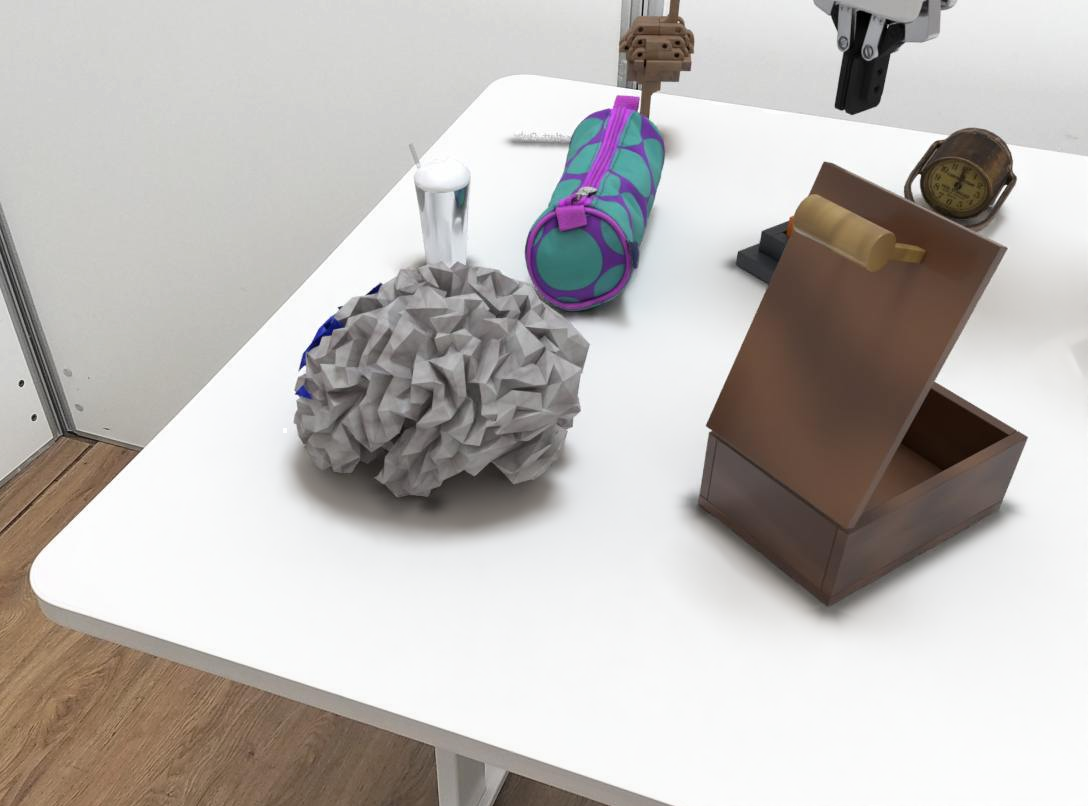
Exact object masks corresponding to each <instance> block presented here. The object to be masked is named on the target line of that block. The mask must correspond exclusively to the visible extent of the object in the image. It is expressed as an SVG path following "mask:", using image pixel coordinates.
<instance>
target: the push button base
mask: <svg viewBox="0 0 1088 806" xmlns="http://www.w3.org/2000/svg"><path fill="white" fill-rule="evenodd" d="M788 224H789V220H787V221H784V222H782V223H779V224H776V225H773V226H771V227H768V228H765V229H763V230H761V232H760V238H759V242H758V243H756V244H754V245H751V246H748V247H746V248H743V249H740V250H738V251H737V254H736V260H735V261H736V262H735V264H736V266H738V267H740V268H742V269H743V270H745V271H747V272H748V273H750V274H752V275H753V276H755V277H757V278H759V279H760V280H762V281H764V282H765V283H767V284H769V283H770V280H771V278H772V276H773V274H774V271H775V269H776V267H777V265H778V262H779V260H780V258H781V256H782V254H783V251H784V249H785V247H786V245H787V242H788V240H789V238H790V237H789V236H787V229H788Z"/></svg>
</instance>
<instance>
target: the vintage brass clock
mask: <svg viewBox="0 0 1088 806" xmlns="http://www.w3.org/2000/svg"><path fill="white" fill-rule="evenodd" d="M1013 167H1014V160H1013V154H1012V151H1011V150H1010V147H1009V146H1008V145H1007V143H1006V141H1005V140H1004V139H1003V138H1001V137H1000V136H999V135H997V134H996V133H995V132H993V131H990V130H988V129H985V128H979V127H964V128H961V129H958V130H956V131H954V132H952V133H951V134H950V135H949V136H948V137H946V138H945V139H937V140H935V141H933V143H931V144H930V146H929V147H928V149H927V150H926V151H925V153H924V154H923V156H922V157H921V158H920V159H919V161H918V162H917V163H916V165H915V166H914V168H913V169H912V170H911V172H910V173H909V174H908V177H907V179H906V181H905V184H904V186H903V197H904V198H906V199H908V200H910V201H912V202H914V203H916V204H917V202H916V200H915V198H914V195H913V190H912V184H913V182H914V181H915V180H916V178H917V177H918V175H920V179H919V189H920V192H921V196H922V199H923V200H924V202H925V203H926V204H927V206H928V207H929V208H931V209H932V211H933V212H935V213H937V214H939V215H941V216H943V217H945V218H947V219H952V220H957V221H958V220H959V221H965V220H970V219H975V218H976V217H978V216H981V215H982V214H983V213H984V212H986V210H988V208H989V207H990V206H993V205H994V206H993V207H992V209H991V210H990V212H989V213H988V214H987V216H986V217H985V218H983V219H981V221H978V222H976V223H971V224H961V225H962V226H964V227H966V228H968V229H970V230H972V231H974V232H976V233H979V232H981V231H982V230H984V229H985V228H986V227H987V226H989V225H990V224H991V222H992V221H993V220H995V217H996V215H997V214H998V213H999V211H1000V209H1001V208H1002V207H1003V205H1004V203H1005V202H1006V201H1007V199H1008V197H1009V195H1010V194H1011V192H1012V191H1013V190H1014V188H1015V186H1016V184H1017V181H1018V177H1017V175H1016V174H1015V172H1014V170H1013ZM1004 187H1005V188H1004ZM1002 190H1003V191H1002Z"/></svg>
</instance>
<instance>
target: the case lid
mask: <svg viewBox="0 0 1088 806" xmlns="http://www.w3.org/2000/svg"><path fill="white" fill-rule="evenodd" d="M793 216H794V217H793V227H794V229H793V231H792V233H791V236H790V238H789V240H788V242H787V245H786V247H785V249H784V251H783V254H782V256H781V258H780V260H779V262H778V265H777V267H776V269H775V271H774V274H773V276H772V278H771V280H770V283H768V284H767V287H766V290H765V292H764V294H763V297H762V298H761V300H760V303H759V305H758V307H757V310H756V312H755V314H754V316H753V318H752V321H751V323H750V326H749V327H748V329H747V331H746V334H745V336H744V339H743V341H742V343H741V345H740V348H739V350H738V351H737V355H736V356H735V359H734V361H733V364H732V365H731V368H730V370H729V372H728V375H727V377H726V379H725V382H724V384H723V386H722V388H721V390H720V392H719V395H718V396H717V399H716V402H715V403H714V406H713V408H712V409H711V412H710V414H709V417H708V420H707V422H706V423H705V427H706V428H707V429H709V430H710V431H713V432H715V433H716V434H717V435H719V436H720V437H721V438H723V439H724V440H725V441H727V442H728V443H730V444H731V445H732V446H734V447H735V448H736V449H738V450H739V451H740V452H742V453H743V454H744V455H746V456H747V457H749V458H750V459H751V460H753V461H754V462H755V463H757V464H758V465H759V466H761V467H762V468H764V469H765V470H766V471H768V472H769V473H770V474H772V475H773V476H774V477H776V478H777V479H779V480H780V481H781V482H783V483H784V484H785V485H787V486H788V487H789V488H791V489H792V490H794V491H795V492H796V493H798V494H799V495H800V496H802V497H803V498H804V499H806V500H807V501H809V502H810V503H811V504H813V505H814V506H815V507H817V508H818V509H819V510H821V511H822V512H824V513H825V514H826V515H828V516H829V517H830V518H832V519H833V520H834V521H836V522H837V523H839V524H840V525H841V526H843V527H844V528H845V529H848V528H854V526H855V524H856V523H857V521H858V519H859V517H860V515H861V514H862V512H863V510H864V508H865V506H866V505H867V503H868V501H869V499H870V497H871V495H872V494H873V492H874V490H875V488H876V486H877V485H878V483H879V481H880V479H881V477H882V476H883V474H884V472H885V470H886V468H887V467H888V465H889V463H890V461H891V459H892V457H893V456H894V454H895V452H896V450H897V448H898V447H899V445H900V443H901V441H902V439H903V438H904V436H905V434H906V432H907V430H908V429H909V427H910V425H911V423H912V421H913V419H914V418H915V416H916V414H917V412H918V410H919V409H920V407H921V405H922V403H923V401H924V400H925V398H926V396H927V394H928V392H929V390H930V389H931V387H932V385H933V383H934V381H935V382H936V380H937V378H938V376H939V374H940V373H941V371H942V368H943V367H944V365H945V364H946V361H948V358H949V356H950V354H951V353H952V351H953V349H954V348H955V345H956V343H957V341H958V340H959V338H960V336H961V335H962V332H963V330H964V329H965V327H966V325H967V324H968V322H969V320H970V318H971V316H972V314H973V312H974V311H975V309H976V308H977V306H978V303H979V302H980V300H981V298H982V296H983V294H984V293H985V291H986V289H987V287H988V285H989V283H990V282H991V280H992V278H993V277H994V274H995V273H996V271H997V269H998V267H999V265H1000V264H1001V263H1002V260H1003V258H1004V257H1005V254H1006V253H1007V251H1008V247H1007V246H1005V245H1003V244H1001V243H1000V242H997V241H995V240H993V239H991V238H989V237H987V236H985V235H983V234H980V233H979V232H974V231H972V230H970V229H968V228H966V227H964V226H962V225H963V224H960V223H958V222H956V221H953V219H952V220H951V219H950V218H948V217H945V216H943V215H941V214H939V213H937V212H935V211H934V210H931V209H929V208H927V207H924V206H922V205H921V204H918V203H917V202H916V203H914V202H912V201H910V200H908V199H906V198H905V197H904V196H901V194H897V193H896V192H894V191H891V190H890V189H887V188H885V187H883V186H881V185H879V184H877V183H874V182H873V181H870V180H868V179H867V178H864V177H862V176H861V175H858V174H856V173H854V172H852V171H850V170H848V169H845V168H844V167H841V166H839V165H838V164H836V163H833V162H829V161H823V162H822V164H821V166H820V169H819V170H818V173H817V175H816V177H815V179H814V182H813V184H812V187H811V188H810V191H809V193H808V196H805V198H804V199H803V200H801V202H800V203H799V204H798V206H797V207H796V209H795V211H794V213H793Z"/></svg>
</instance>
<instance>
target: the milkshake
mask: <svg viewBox="0 0 1088 806" xmlns="http://www.w3.org/2000/svg"><path fill="white" fill-rule="evenodd" d="M408 147H409V150H410V153H411V155H412V158H413V161H414V163H415V167H416V169H417V170H416V171H414V175H413V182H414V183H413V184H414V188H415V193H416V194H415V195H416V199H417V206H418V212H419V219H420V226H421V234H422V242H423V249H424V256H425V263H426V264H425V265H427V264H430V263H431V264H432V265H433V264H436V263H438V262H441V261H442V262H443V263H444V264H445V265H446V266H447V267H448V268H449V269H450V268H451V267H452V266H453V265H454V264H455V263H456V262H457V261H458V262H460V263H462V264H464V265H466V266H467V253H468V231H469V211H470V210H469V208H470V196H471V195H470V194H471V193H470V192H471V183H472V181H471V179H472V176H471V171H470V169H469V168H468V167H467V166H466V165H465V164H464V163H462V162H461V161H459V160H457V159H456V158H454V157H447V158H443V159H442V158H441V159H440V158H436V159H433V160H431V161H429V162H426V163H423V164H421V163H420V160H419V157H418V154H417V152H416V149H415V147H414V144H413V143H412V142H411V143H409V144H408Z"/></svg>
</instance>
